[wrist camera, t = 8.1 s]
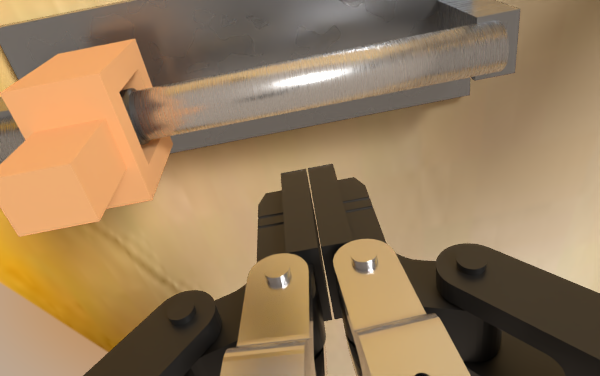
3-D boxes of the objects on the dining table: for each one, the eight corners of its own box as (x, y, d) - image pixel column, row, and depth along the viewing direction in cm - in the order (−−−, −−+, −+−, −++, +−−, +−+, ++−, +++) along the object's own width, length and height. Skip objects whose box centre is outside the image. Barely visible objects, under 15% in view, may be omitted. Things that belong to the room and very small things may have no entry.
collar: (135, 38, 22) (60, 110, 14) (173, 144, 25) (131, 256, 17) (58, 53, 22) (-64, 135, 14) (105, 157, 26) (29, 275, 17)
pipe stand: (468, -69, 24) (544, -65, 18) (464, 91, 29) (523, 138, 22) (-1, 26, 24) (-91, 62, 18) (71, 167, 29) (20, 235, 23)
